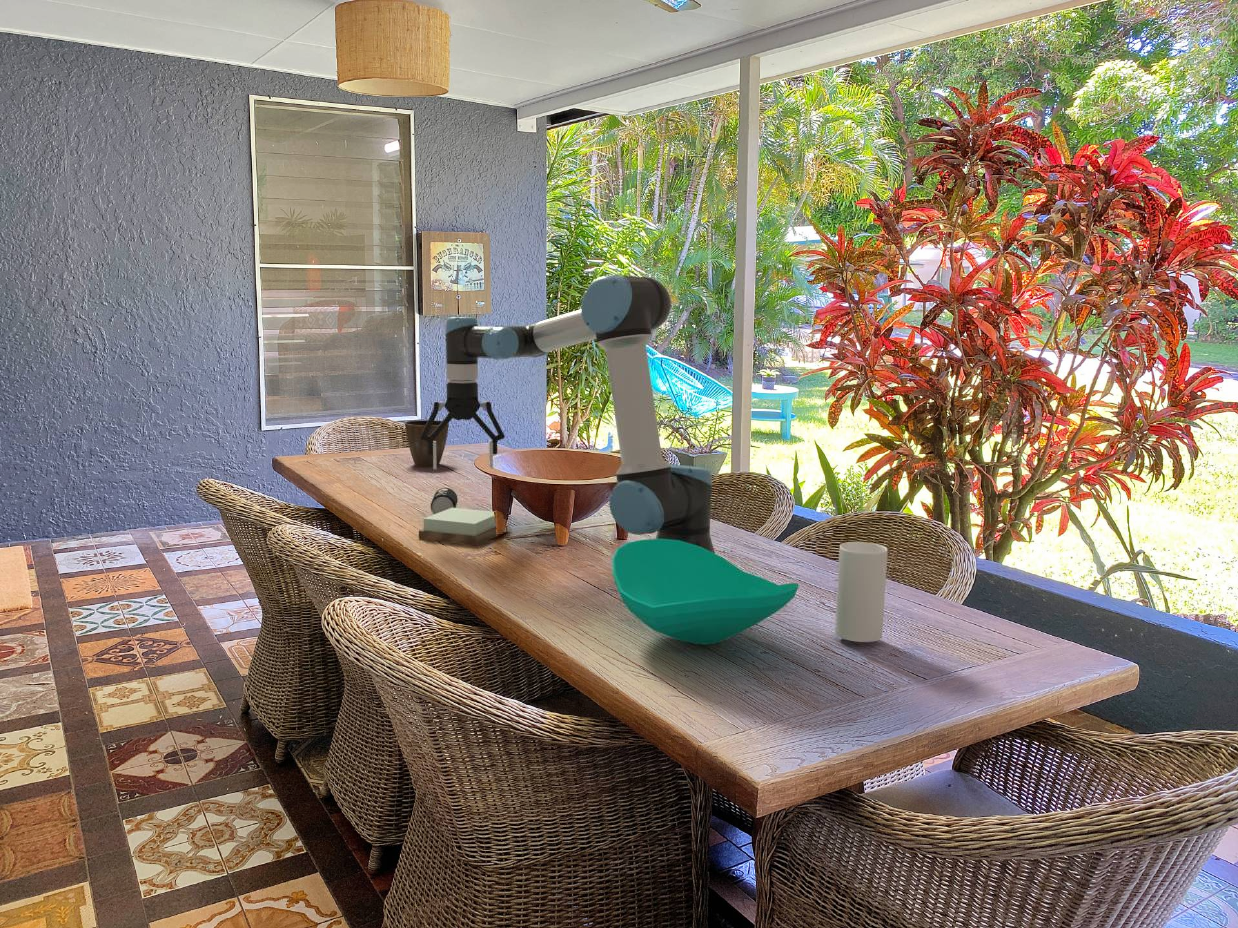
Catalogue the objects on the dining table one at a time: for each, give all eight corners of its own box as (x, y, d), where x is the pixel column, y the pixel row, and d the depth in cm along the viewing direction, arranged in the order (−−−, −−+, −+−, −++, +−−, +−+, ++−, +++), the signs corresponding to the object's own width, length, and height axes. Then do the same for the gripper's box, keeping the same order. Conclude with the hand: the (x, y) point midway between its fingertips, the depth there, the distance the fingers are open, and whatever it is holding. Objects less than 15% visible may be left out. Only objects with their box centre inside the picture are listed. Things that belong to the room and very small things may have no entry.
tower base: (507, 535, 248) (507, 523, 248) (477, 549, 233) (477, 537, 233) (451, 529, 253) (450, 517, 253) (418, 542, 238) (418, 530, 238)
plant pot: (436, 463, 350) (435, 419, 347) (457, 469, 339) (457, 423, 336) (397, 467, 341) (397, 421, 338) (418, 473, 329) (417, 426, 327)
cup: (847, 623, 181) (852, 539, 178) (889, 633, 175) (895, 547, 173) (826, 634, 174) (831, 547, 172) (869, 645, 169) (875, 555, 167)
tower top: (501, 524, 247) (501, 512, 246) (474, 536, 234) (474, 523, 233) (452, 519, 251) (452, 507, 251) (423, 530, 238) (423, 518, 238)
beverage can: (455, 485, 271) (452, 494, 259) (459, 508, 272) (457, 517, 260) (431, 489, 271) (428, 497, 259) (436, 512, 272) (432, 521, 260)
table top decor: (576, 616, 182) (577, 547, 179) (698, 596, 196) (700, 532, 194) (700, 690, 148) (703, 605, 146) (837, 659, 162) (841, 582, 160)
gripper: (512, 380, 243) (512, 464, 246) (410, 380, 238) (411, 466, 242) (515, 382, 235) (515, 469, 239) (409, 382, 231) (410, 471, 234)
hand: (463, 468), depth 240 cm, fingers open, 13 cm apart
